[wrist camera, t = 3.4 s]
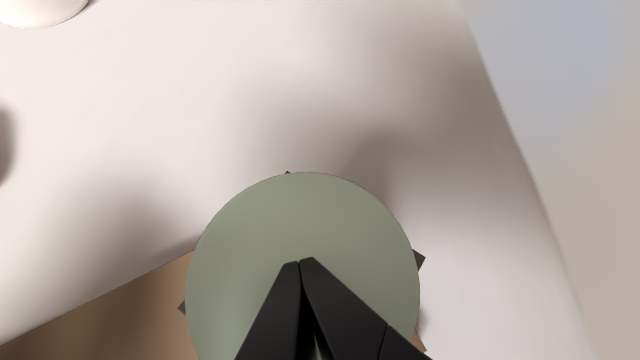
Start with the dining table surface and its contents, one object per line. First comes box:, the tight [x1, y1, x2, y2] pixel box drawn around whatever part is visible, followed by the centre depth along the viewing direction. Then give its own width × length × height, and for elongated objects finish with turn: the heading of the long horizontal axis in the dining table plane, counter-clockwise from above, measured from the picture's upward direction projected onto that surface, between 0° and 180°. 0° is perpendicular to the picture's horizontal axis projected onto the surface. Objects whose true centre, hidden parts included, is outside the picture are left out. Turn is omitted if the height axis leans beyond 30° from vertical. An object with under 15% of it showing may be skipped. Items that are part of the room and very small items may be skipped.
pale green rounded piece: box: [185, 172, 420, 360], centre depth 12 cm, size 7×7×8 cm
